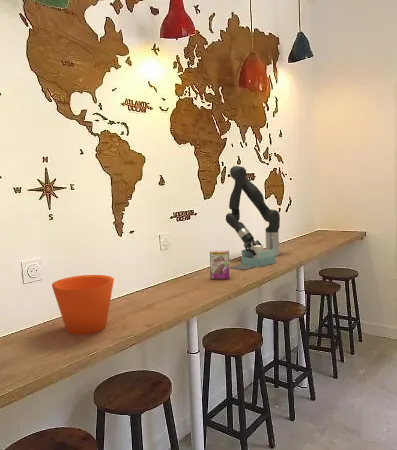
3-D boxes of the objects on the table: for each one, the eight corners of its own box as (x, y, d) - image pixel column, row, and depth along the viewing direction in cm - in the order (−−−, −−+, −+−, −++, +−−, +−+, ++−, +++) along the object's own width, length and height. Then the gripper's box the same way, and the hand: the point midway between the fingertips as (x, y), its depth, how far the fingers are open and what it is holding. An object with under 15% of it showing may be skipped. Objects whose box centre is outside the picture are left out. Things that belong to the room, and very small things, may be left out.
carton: (257, 260, 320) (257, 246, 319) (275, 262, 310) (275, 248, 308) (241, 264, 309) (241, 250, 307) (259, 267, 298) (259, 252, 297)
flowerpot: (68, 343, 176) (64, 293, 174) (47, 327, 196) (43, 281, 194) (127, 328, 190) (124, 281, 188) (101, 314, 211) (99, 272, 208)
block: (257, 262, 313) (257, 245, 311) (263, 263, 309) (263, 245, 308) (253, 263, 309) (252, 246, 308) (259, 264, 306) (258, 246, 304)
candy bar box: (210, 279, 270) (209, 251, 268) (211, 277, 275) (210, 250, 273) (229, 279, 269) (228, 251, 267) (229, 277, 273) (229, 250, 272)
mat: (241, 265, 306) (241, 264, 306) (255, 267, 297) (255, 266, 297) (230, 268, 298) (230, 267, 298) (244, 270, 290) (244, 269, 290)
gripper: (241, 233, 307) (255, 252, 300) (255, 231, 317) (268, 249, 310) (235, 240, 312) (249, 259, 305) (249, 238, 321) (262, 256, 315)
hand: (259, 254), depth 307 cm, fingers open, 8 cm apart
